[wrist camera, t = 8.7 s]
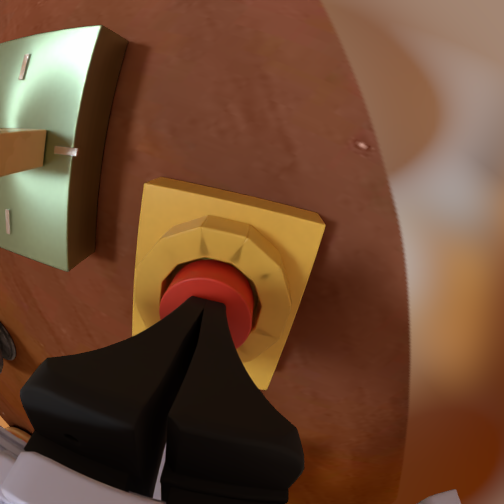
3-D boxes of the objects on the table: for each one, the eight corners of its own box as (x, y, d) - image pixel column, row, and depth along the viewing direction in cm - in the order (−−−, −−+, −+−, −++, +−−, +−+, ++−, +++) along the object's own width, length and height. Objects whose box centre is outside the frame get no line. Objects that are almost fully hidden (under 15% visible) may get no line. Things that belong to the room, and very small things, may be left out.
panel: (100, 253, 16) (71, 275, 13) (-3, 221, 16) (-32, 235, 13) (134, 40, 12) (107, 22, 9) (16, 52, 11) (-16, 47, 8)
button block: (267, 366, 18) (266, 413, 14) (143, 336, 18) (120, 377, 14) (317, 213, 15) (335, 238, 11) (160, 176, 14) (126, 189, 11)
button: (243, 340, 13) (240, 364, 12) (167, 321, 13) (156, 344, 12) (262, 270, 12) (262, 290, 11) (176, 250, 12) (163, 267, 10)
